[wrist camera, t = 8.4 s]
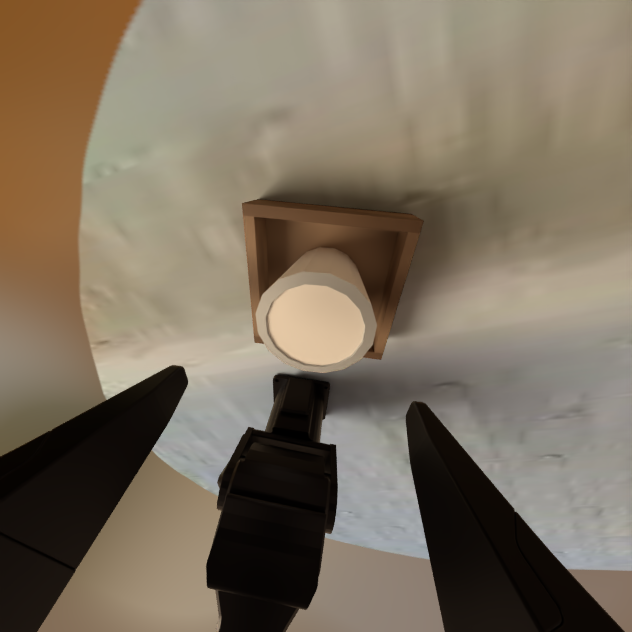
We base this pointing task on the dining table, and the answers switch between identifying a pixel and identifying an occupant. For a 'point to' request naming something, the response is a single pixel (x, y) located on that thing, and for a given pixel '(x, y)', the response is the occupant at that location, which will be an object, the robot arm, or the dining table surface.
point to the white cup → (318, 313)
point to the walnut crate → (332, 232)
